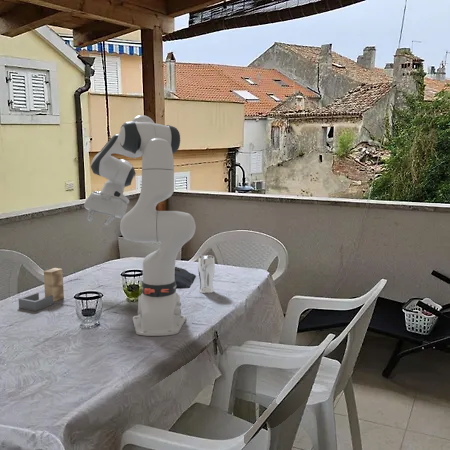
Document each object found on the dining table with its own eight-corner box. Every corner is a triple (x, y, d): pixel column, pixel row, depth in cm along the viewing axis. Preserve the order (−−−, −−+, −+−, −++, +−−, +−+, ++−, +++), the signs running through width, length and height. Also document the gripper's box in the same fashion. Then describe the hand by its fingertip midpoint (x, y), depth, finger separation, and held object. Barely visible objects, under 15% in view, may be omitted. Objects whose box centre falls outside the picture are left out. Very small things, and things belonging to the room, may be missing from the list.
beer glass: (215, 289, 216) (215, 255, 213) (213, 294, 209) (213, 259, 206) (199, 288, 216) (199, 254, 214) (197, 293, 209) (196, 258, 207)
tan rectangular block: (56, 296, 205) (54, 267, 203) (63, 297, 203) (62, 268, 201) (45, 300, 199) (43, 271, 197) (52, 301, 197) (51, 272, 195)
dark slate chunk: (155, 288, 218) (155, 278, 217) (165, 275, 239) (164, 265, 239) (190, 289, 217) (190, 279, 216) (197, 276, 238) (196, 266, 238)
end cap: (37, 301, 198) (36, 292, 198) (53, 304, 195) (53, 295, 194) (19, 307, 190) (18, 298, 190) (35, 311, 187) (35, 302, 186)
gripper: (88, 186, 222) (75, 214, 218) (125, 195, 213) (111, 224, 209) (96, 193, 227) (83, 220, 223) (132, 201, 218) (119, 230, 214)
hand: (97, 222), depth 216 cm, fingers open, 8 cm apart
